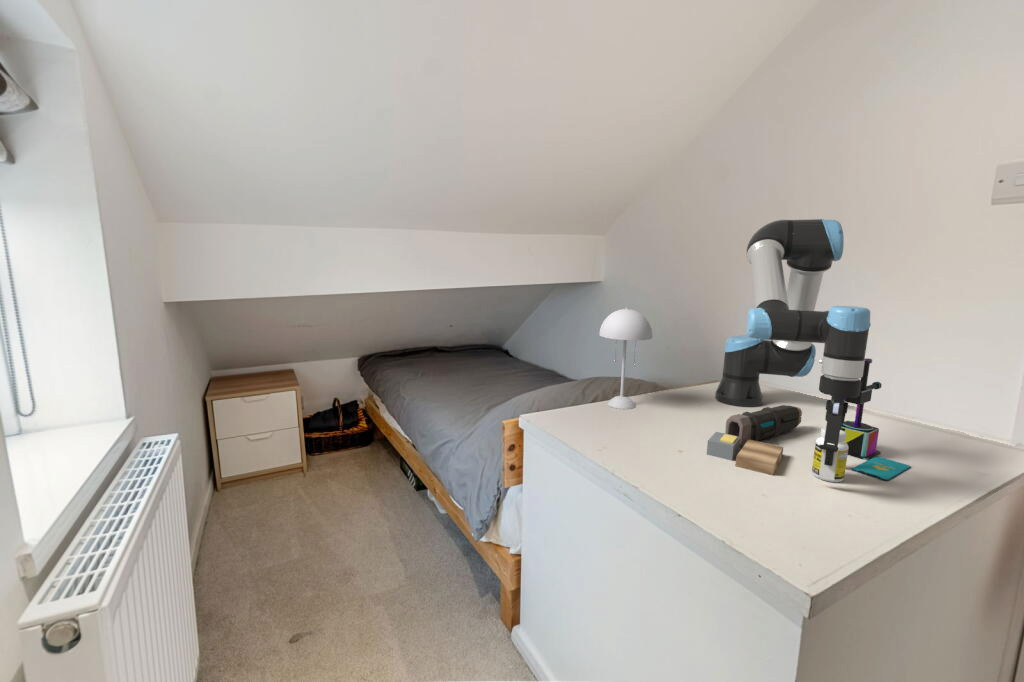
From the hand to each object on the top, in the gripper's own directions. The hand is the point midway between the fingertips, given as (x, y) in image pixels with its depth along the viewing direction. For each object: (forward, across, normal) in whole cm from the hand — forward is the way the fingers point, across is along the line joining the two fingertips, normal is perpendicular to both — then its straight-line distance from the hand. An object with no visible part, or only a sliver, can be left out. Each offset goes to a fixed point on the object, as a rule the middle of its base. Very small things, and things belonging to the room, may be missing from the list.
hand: (828, 468), depth 108 cm
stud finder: (+2, 0, -22) cm, 23 cm away
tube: (+2, -20, -16) cm, 26 cm away
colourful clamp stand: (+2, -28, +6) cm, 29 cm away
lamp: (+2, -22, -60) cm, 64 cm away
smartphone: (+3, -14, +10) cm, 17 cm away
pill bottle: (+2, 0, 0) cm, 2 cm away
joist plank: (+2, 0, -14) cm, 14 cm away
